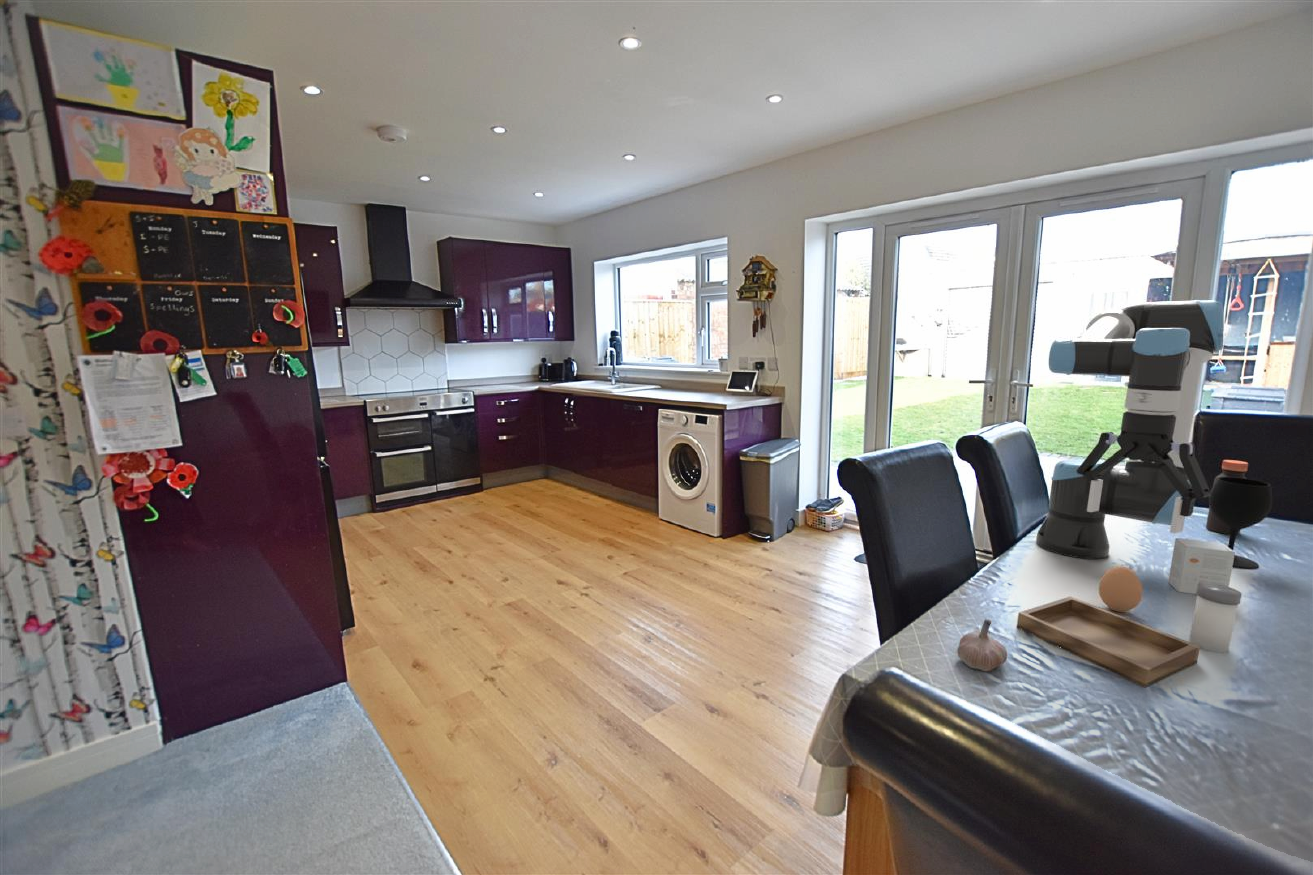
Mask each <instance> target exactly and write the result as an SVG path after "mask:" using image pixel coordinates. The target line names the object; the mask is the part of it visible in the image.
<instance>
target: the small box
mask: <svg viewBox="0 0 1313 875" xmlns="http://www.w3.org/2000/svg"><path fill="white" fill-rule="evenodd" d="M1235 553H1236V552H1235V551H1234V549H1233V550H1231V549H1230V548H1229V547H1228V545H1226V544H1224V543H1223V542H1216V541H1207V540H1197V539H1191V538H1190V539H1189V538H1180V537H1175V539H1174V544H1173V551H1172V555H1171V556H1172V558H1171V563H1170V569H1169V573H1168V583H1169V584H1170V585H1171V586H1172V587H1173V588H1174V589H1175V590H1176V591H1177V592H1179V593H1184V594H1191V595H1197V594H1196V592H1197V587H1198V583H1202V582H1208V583H1215V584H1220V585H1224V586H1228V587H1230V580H1231V577H1232V572H1233V570H1232V569H1233V567H1232V566H1233V561H1234V555H1236V554H1235Z"/></svg>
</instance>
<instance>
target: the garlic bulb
mask: <svg viewBox="0 0 1313 875" xmlns="http://www.w3.org/2000/svg"><path fill="white" fill-rule="evenodd" d="M991 625H992V620H989V619H987V618H985V619H984V621H983V623H982V628H981V631H979V630H978V631H971V632H969V633H967V634H964V635H963V636H962V637H961V638H960V640H959V643H958V644H959V645H958V647H957V648H956V649H957V651H956V652H957V656H958V657H959V659H960V660H961V661H963V662H964V664H965V665H967V666H968V667H970V668H971V669H975V670H980V671H983V672H990V671H992V670H993V669H995V668H998V667H1000V666H1001V665H1004V664H1005V663H1006V661H1007V659H1008V658H1007V657H1008V652H1007V649H1006V647H1005V646H1004V644H1002V643H1001V642H1000V641H998V640H996V639H994V638H992V637H991V636H990V635H988V633H989V629H990V627H991Z"/></svg>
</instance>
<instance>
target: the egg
mask: <svg viewBox="0 0 1313 875" xmlns="http://www.w3.org/2000/svg"><path fill="white" fill-rule="evenodd" d="M1098 594H1099V596H1100V599H1101V601H1102V602H1103V603H1104V604H1105V606H1107V607H1108V608H1109V609H1111V610H1113V611H1115V612H1120V613H1122V612H1129V611H1132V610H1133V609H1135V608H1137V607H1138V605H1139V604H1140V602H1141V601H1142V598H1143V585H1142V583H1141V580H1140V579H1139V577H1138V575H1137V574H1136V573H1135V572H1134V571H1133V570H1132V569H1130V568H1129V567H1127V566H1123V565H1122V566H1115V567H1112V568H1109V570H1106V572H1105V573H1104V575H1102V576H1101V579H1100V581H1099V583H1098Z"/></svg>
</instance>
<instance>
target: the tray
mask: <svg viewBox="0 0 1313 875" xmlns="http://www.w3.org/2000/svg"><path fill="white" fill-rule="evenodd" d="M1016 621H1017V622H1016V629H1019V630H1021V629H1022V630H1021V631H1023V630H1024V631H1023V632H1025V631H1026V633H1027V634H1030V633H1031V634H1030V635H1032V634H1033V635H1032V636H1034V635H1035V636H1034V637H1036V638H1039V639H1041V640H1042V639H1043V641H1045V642H1047V643H1049V644H1051V645H1053V646H1056V647H1057V646H1058V647H1057V648H1060V647H1061V648H1060V649H1062V650H1065V651H1067V652H1068V651H1069V652H1068V653H1070V654H1072V655H1075V656H1076V657H1079V658H1081V659H1083V660H1086V661H1088V662H1090V663H1091V664H1094V665H1096V666H1098V667H1099V668H1102V669H1105V670H1106V671H1109V672H1111V673H1113V674H1115V675H1117V676H1120V677H1121V678H1124V679H1126V680H1128V681H1131V682H1132V683H1134V684H1137V685H1139V686H1140V687H1143V688H1147V687H1149V686H1151V685H1153V684H1156V683H1157V682H1159V681H1163V680H1164V679H1166V678H1168V677H1170V676H1172V675H1175V674H1176V673H1179V672H1181V671H1183V670H1186V669H1187V668H1190V667H1191V666H1194V665H1196V664H1198V660H1199V654H1200V650H1201V648H1200V646H1198V645H1195V644H1192V643H1191V642H1190V641H1187V640H1184V639H1182V638H1179V637H1176V636H1174V635H1171V634H1169V633H1167V632H1164V631H1161V630H1159V629H1156V628H1154V627H1150V626H1149V625H1145V624H1143V623H1140V622H1138V621H1135V620H1132V619H1130V618H1128V617H1124V616H1122V615H1120V614H1117V613H1114V612H1112V611H1110V610H1106V609H1104V608H1101V607H1098V606H1096V605H1094V604H1091V603H1088V602H1086V601H1083V600H1081V599H1078V598H1076V597H1073V596H1067V597H1064V598H1060V599H1057V600H1054V601H1050V602H1048V603H1045V604H1041V605H1039V606H1035V607H1032V608H1028V609H1024V610H1023V611H1020V612H1018V616H1017V620H1016Z"/></svg>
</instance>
